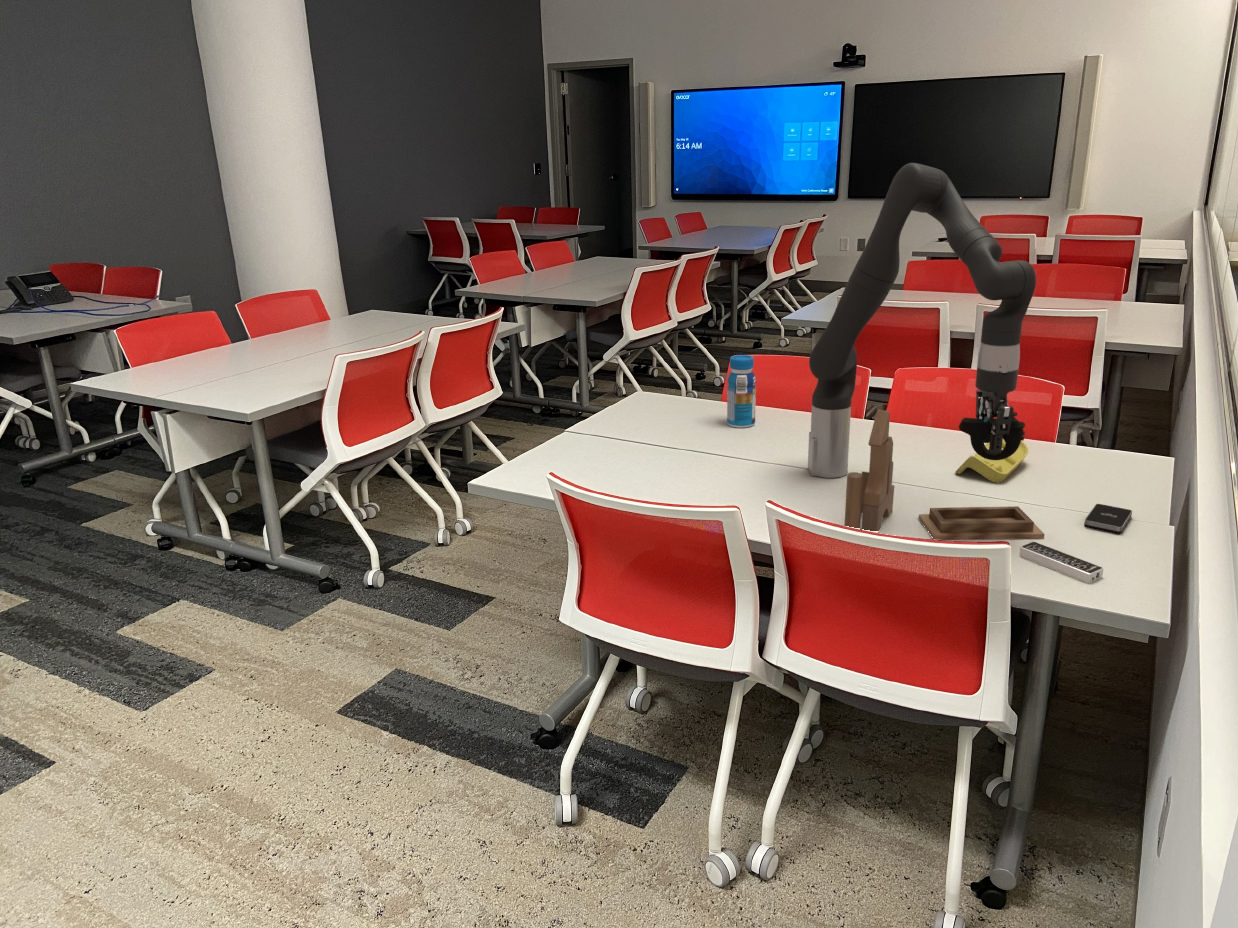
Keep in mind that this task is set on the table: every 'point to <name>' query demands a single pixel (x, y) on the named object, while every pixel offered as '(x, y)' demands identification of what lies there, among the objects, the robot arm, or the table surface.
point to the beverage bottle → (741, 392)
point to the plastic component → (995, 464)
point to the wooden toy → (872, 481)
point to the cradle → (980, 523)
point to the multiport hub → (1061, 562)
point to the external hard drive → (1108, 518)
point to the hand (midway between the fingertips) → (989, 446)
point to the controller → (982, 429)
